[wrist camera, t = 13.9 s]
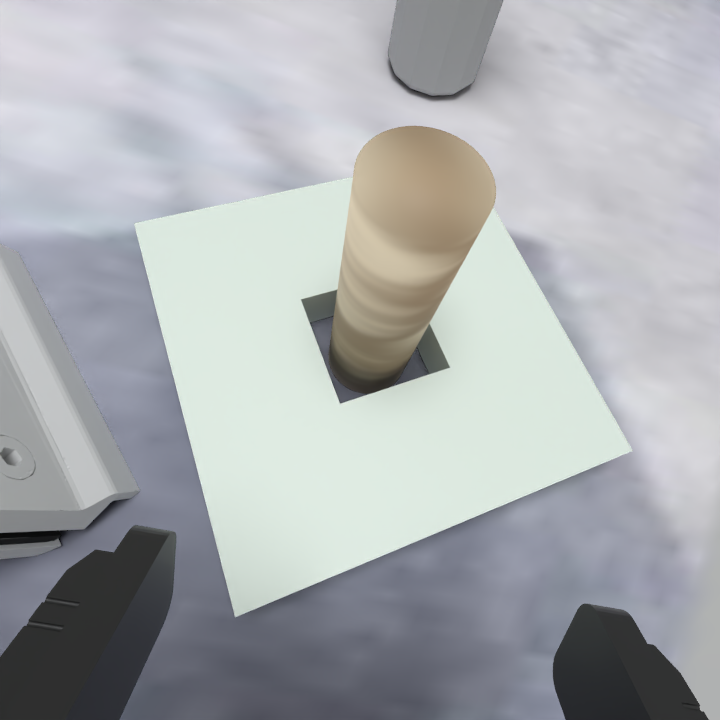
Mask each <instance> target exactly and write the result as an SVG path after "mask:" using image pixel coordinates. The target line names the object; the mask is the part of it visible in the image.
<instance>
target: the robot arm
mask: <svg viewBox="0 0 720 720" xmlns="http://www.w3.org/2000/svg"><path fill="white" fill-rule="evenodd" d="M175 551H176V533H175V532H173V531H167V530H161V529H155V528H150V527H144V526H138V525H135V526H133V527H132V528H131V529H130V530H129V531H128V533H127V534H126V535H125V537H124V538H123V540H122V541H121V543H120V544H119V546H118V547H117V549H116V550H115V552H114V553H113V552H107V551H101V550H94V551H93V552H92V553H90V554H89V555H87V556H86V557H85V558H83V559H82V560H80V561H79V562H78V563H76V564H75V565H73V566H72V567H71V568H69V569H68V570H67V571H66V572H65V573H64V575H63V576H62V577H61V579H60V580H59V581H58V582H57V584H56V585H55V586H54V588H53V589H52V590H51V592H50V593H49V594H48V595H47V597H46V600H45V602H44V603H43V602H42V603H41V605H40V606H39V607H38V609H37V610H36V611H35V612H34V614H33V615H32V616H31V618H30V619H29V622H28V624H27V626H24V627H23V628H22V629H21V631H20V632H19V633H18V635H17V636H16V637H15V638H14V640H13V641H12V642H11V644H10V645H9V646H8V648H7V649H6V650H5V651H4V653H3V654H2V655H1V657H0V720H119V719H120V717H121V715H122V713H123V710H124V708H125V706H126V704H127V702H128V700H129V697H130V695H131V693H132V691H133V689H134V687H135V685H136V682H137V680H138V678H139V676H140V674H141V672H142V669H143V667H144V665H145V663H146V661H147V659H148V656H149V654H150V652H151V650H152V648H153V646H154V644H155V641H156V639H157V637H158V635H159V633H160V631H161V628H162V626H163V624H164V621H165V619H166V616H167V613H168V610H169V607H170V603H171V599H172V593H173V583H174V567H175ZM553 679H554V685H555V690H556V693H557V696H558V699H559V702H560V705H561V707H562V710H563V713H564V716H565V719H566V720H708V718H707V716H706V715H705V713H704V712H702V711H700V708H699V706H700V705H699V703H698V701H697V700H696V698H695V696H694V695H693V693H692V692H691V690H690V688H689V687H688V685H687V683H686V682H685V680H684V678H683V677H682V675H681V673H680V672H679V671H678V670H677V669H676V668H675V667H674V666H673V665H672V664H671V663H670V662H669V661H668V660H667V658H666V657H665V656H664V655H663V654H662V653H661V652H660V651H659V650H658V649H657V648H656V647H655V646H654V645H651V644H647V642H646V640H645V639H644V637H643V635H642V634H641V632H640V630H639V628H638V627H637V625H636V623H635V621H634V620H633V618H632V617H631V616H630V614H629V613H627V612H626V611H624V610H621V609H615V608H609V607H603V606H597V605H591V604H583V605H581V606H580V607H579V609H578V610H577V612H576V614H575V616H574V618H573V620H572V622H571V624H570V626H569V628H568V630H567V632H566V634H565V636H564V638H563V640H562V642H561V644H560V646H559V648H558V650H557V652H556V654H555V658H554V663H553Z"/></svg>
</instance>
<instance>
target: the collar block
mask: <svg viewBox="0 0 720 720" xmlns="http://www.w3.org/2000/svg"><path fill="white" fill-rule="evenodd" d="M352 181H353V177H350V178H345V179H340V180H336V181H331V182H326V183H322V184H317V185H312V186H308V187H303V188H298V189H293V190H289V191H284V192H279V193H275V194H270V195H265V196H260V197H256V198H251V199H246V200H242V201H237V202H232V203H227V204H223V205H218V206H213V207H209V208H204V209H199V210H194V211H190V212H185V213H180V214H176V215H171V216H166V217H161V218H157V219H152V220H147V221H143V222H138V223H134V225H135V229H136V233H137V237H138V240H139V244H140V248H141V252H142V256H143V260H144V264H145V268H146V272H147V276H148V279H149V283H150V287H151V291H152V295H153V299H154V303H155V307H156V311H157V314H158V318H159V322H160V326H161V330H162V334H163V338H164V342H165V346H166V350H167V353H168V357H169V361H170V365H171V369H172V373H173V377H174V381H175V385H176V388H177V392H178V396H179V400H180V404H181V408H182V412H183V416H184V420H185V423H186V427H187V431H188V435H189V439H190V443H191V447H192V451H193V455H194V459H195V462H196V466H197V470H198V474H199V478H200V482H201V486H202V490H203V494H204V497H205V501H206V505H207V509H208V513H209V517H210V521H211V525H212V529H213V533H214V536H215V540H216V544H217V548H218V552H219V556H220V560H221V564H222V568H223V571H224V575H225V579H226V583H227V587H228V591H229V595H230V599H231V603H232V607H233V610H234V614H235V617H237V616H240V615H242V614H244V613H247V612H249V611H251V610H254V609H256V608H259V607H261V606H263V605H266V604H268V603H271V602H273V601H275V600H278V599H280V598H282V597H285V596H287V595H290V594H292V593H294V592H297V591H299V590H302V589H304V588H306V587H309V586H311V585H313V584H316V583H318V582H321V581H323V580H325V579H328V578H330V577H333V576H335V575H337V574H340V573H342V572H345V571H347V570H349V569H352V568H354V567H356V566H359V565H361V564H364V563H366V562H368V561H371V560H373V559H376V558H378V557H380V556H383V555H385V554H387V553H390V552H392V551H395V550H397V549H399V548H402V547H404V546H407V545H409V544H411V543H414V542H416V541H418V540H421V539H423V538H426V537H428V536H430V535H433V534H435V533H438V532H440V531H442V530H445V529H447V528H449V527H452V526H454V525H457V524H459V523H461V522H464V521H466V520H469V519H471V518H473V517H476V516H478V515H480V514H483V513H485V512H488V511H490V510H492V509H495V508H497V507H500V506H502V505H504V504H507V503H509V502H512V501H514V500H516V499H519V498H521V497H523V496H526V495H528V494H531V493H533V492H535V491H538V490H540V489H543V488H545V487H547V486H550V485H552V484H554V483H557V482H559V481H562V480H564V479H566V478H569V477H571V476H574V475H576V474H578V473H581V472H583V471H585V470H588V469H590V468H593V467H595V466H597V465H600V464H602V463H605V462H607V461H609V460H612V459H614V458H616V457H619V456H621V455H624V454H626V453H628V452H631V451H633V450H632V449H631V447H630V445H629V443H628V442H627V440H626V438H625V436H624V435H623V433H622V431H621V429H620V428H619V426H618V424H617V422H616V421H615V419H614V417H613V415H612V414H611V412H610V410H609V408H608V407H607V405H606V403H605V401H604V400H603V398H602V396H601V394H600V393H599V391H598V389H597V387H596V386H595V384H594V382H593V380H592V379H591V377H590V375H589V373H588V372H587V370H586V368H585V366H584V365H583V363H582V361H581V359H580V358H579V356H578V354H577V352H576V351H575V349H574V347H573V345H572V344H571V342H570V340H569V338H568V337H567V335H566V333H565V331H564V330H563V328H562V326H561V324H560V323H559V321H558V319H557V317H556V316H555V314H554V312H553V310H552V309H551V307H550V305H549V303H548V302H547V300H546V298H545V296H544V295H543V293H542V291H541V289H540V288H539V286H538V284H537V282H536V281H535V279H534V277H533V275H532V274H531V272H530V270H529V268H528V267H527V265H526V263H525V261H524V260H523V258H522V256H521V254H520V253H519V251H518V249H517V247H516V246H515V244H514V242H513V240H512V239H511V237H510V235H509V233H508V232H507V230H506V228H505V226H504V225H503V223H502V221H501V219H500V218H499V216H498V214H497V212H496V211H495V209H494V207H493V209H492V211H491V213H490V215H489V217H488V218H487V220H486V222H485V224H484V226H483V227H482V229H481V231H480V233H479V235H478V236H477V238H476V240H475V242H474V244H473V245H472V247H471V249H470V251H469V253H468V255H467V256H466V258H465V260H464V262H463V264H462V265H461V267H460V269H459V271H458V273H457V274H456V276H455V278H454V280H453V282H452V283H451V285H450V287H449V289H448V291H447V292H446V294H445V296H444V298H443V300H442V302H441V303H440V305H439V307H438V309H437V311H436V312H435V314H434V316H433V318H432V320H431V321H430V323H429V325H428V327H427V329H426V330H425V332H424V334H423V336H422V338H421V340H420V341H419V343H418V345H417V348H418V350H419V352H420V355H421V357H422V359H423V361H424V363H425V366H426V368H427V370H428V372H429V375H426V376H423V377H420V378H417V379H414V380H411V381H408V382H405V383H402V384H399V385H396V386H393V387H390V388H387V389H384V390H381V391H378V392H375V393H372V394H368V395H365V396H362V397H359V398H356V399H353V400H350V401H347V402H344V403H341V404H340V403H339V400H338V397H337V395H336V392H335V389H334V387H333V384H332V381H331V379H330V376H329V373H328V371H327V368H326V365H325V363H324V360H323V357H322V355H321V352H320V349H319V347H318V344H317V341H316V339H315V336H314V333H313V331H312V328H311V325H310V322H314V321H317V320H321V319H324V318H328V317H331V316H334V311H335V303H336V296H337V289H338V282H339V275H340V267H341V260H342V253H343V246H344V238H345V231H346V224H347V217H348V209H349V202H350V195H351V188H352Z"/></svg>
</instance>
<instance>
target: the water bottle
mask: <svg viewBox="0 0 720 720" xmlns="http://www.w3.org/2000/svg"><path fill="white" fill-rule="evenodd" d="M502 3H503V0H397V3H396V9H395V15H394V21H393V26H392V32H391V38H390V44H389V49H388V56H389V59H390V62H391V65H392V68H393V71H394V73H395V75H396V76H397V77H398V78H399V79H400V80H402V81H403V82H404V83H405V84H406V85H407V86H409V87H410V88H411V89H414V90H417V91H420V92H422V93H425V94H428V95H431V96H434V95H453V94H454V93H456V92H458V91H460V90H461V89H463V88H465V87H466V86H468V85H470V84H471V83H473V82H474V80H475V77H476V74H477V72H478V69H479V66H480V63H481V61H482V58H483V55H484V52H485V50H486V47H487V44H488V41H489V39H490V36H491V33H492V30H493V28H494V25H495V22H496V19H497V17H498V14H499V11H500V8H501V6H502Z"/></svg>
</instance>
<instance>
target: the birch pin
mask: <svg viewBox="0 0 720 720" xmlns="http://www.w3.org/2000/svg"><path fill="white" fill-rule="evenodd" d="M495 198H496V186H495V181H494V177H493V174H492V172H491V170H490V168H489V166H488V164H487V163H486V162H485V160H484V159H483V158H482V156H481V155H480V154H479V153H478V152H477V151H476V150H475V149H474V148H473V147H471V146H470V145H469V144H468V143H466V142H465V141H463V140H461V139H460V138H458V137H456V136H454V135H452V134H450V133H447V132H445V131H442V130H438V129H434V128H429V127H423V126H405V127H398V128H394V129H390V130H387V131H385V132H382V133H380V134H379V135H377V136H375V137H374V138H372V139H371V140H370V141H369V142H368V143H367V144H366V145H365V146H364V147H363V148H362V150H361V151H360V153H359V155H358V157H357V159H356V162H355V166H354V173H353V181H352V188H351V195H350V202H349V209H348V217H347V224H346V231H345V238H344V246H343V253H342V260H341V267H340V275H339V282H338V289H337V296H336V303H335V311H334V318H333V325H332V332H331V340H330V347H329V364H330V368H331V370H332V372H333V374H334V376H335V377H336V378H337V379H338V381H339V382H340V383H342V384H343V385H344V386H346V387H347V388H349V389H351V390H353V391H356V392H360V393H375V392H378V391H381V390H384V389H387V388H389V387H391V386H392V385H393V384H394V383H395V382H396V381H397V380H398V379H399V377H400V376H401V374H402V372H403V370H404V368H405V367H406V365H407V363H408V361H409V359H410V358H411V356H412V354H413V352H414V350H415V349H416V347H417V345H418V343H419V341H420V340H421V338H422V336H423V334H424V332H425V330H426V329H427V327H428V325H429V323H430V321H431V320H432V318H433V316H434V314H435V312H436V311H437V309H438V307H439V305H440V303H441V302H442V300H443V298H444V296H445V294H446V292H447V291H448V289H449V287H450V285H451V283H452V282H453V280H454V278H455V276H456V274H457V273H458V271H459V269H460V267H461V265H462V264H463V262H464V260H465V258H466V256H467V255H468V253H469V251H470V249H471V247H472V245H473V244H474V242H475V240H476V238H477V236H478V235H479V233H480V231H481V229H482V227H483V226H484V224H485V222H486V220H487V218H488V217H489V215H490V213H491V211H492V209H493V206H494V203H495Z"/></svg>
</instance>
